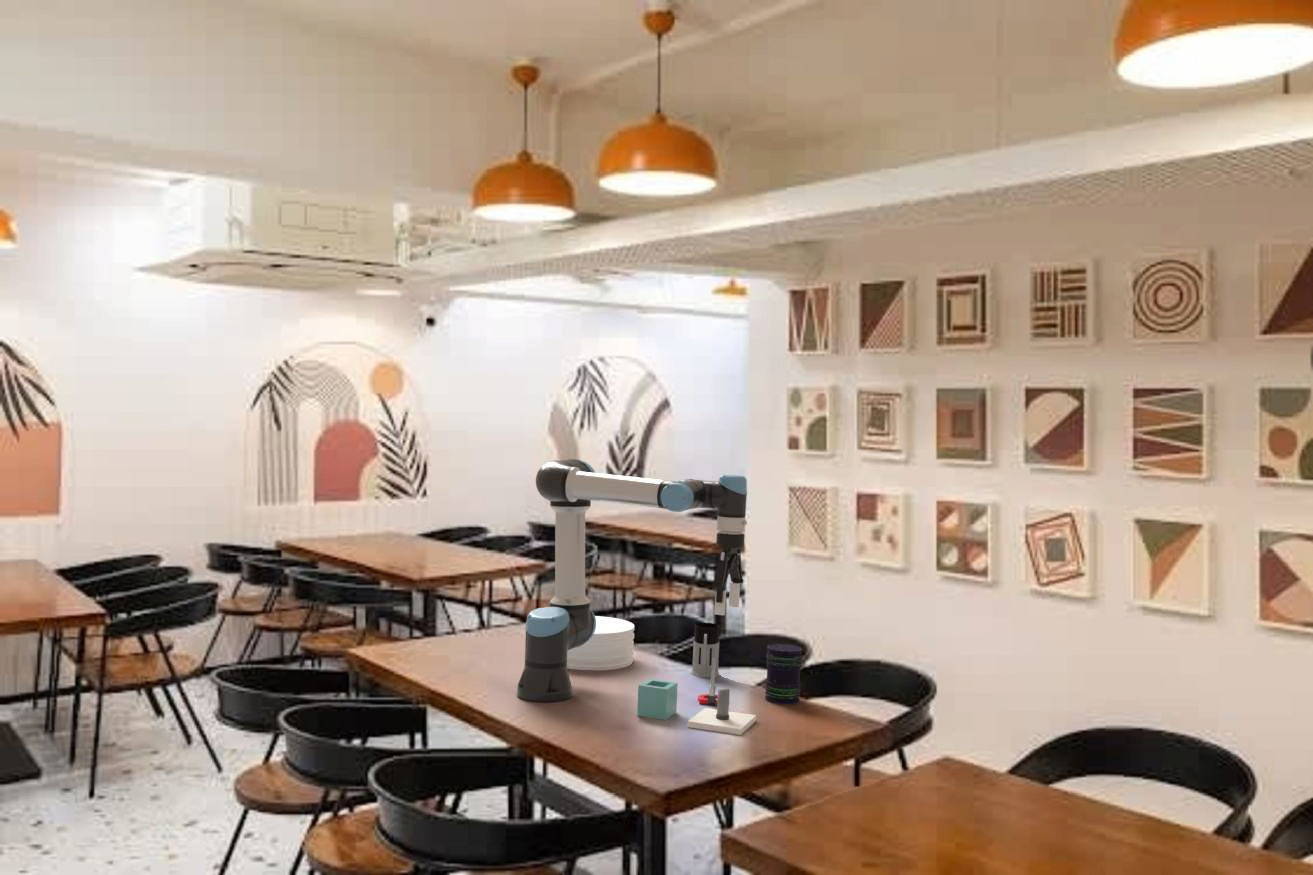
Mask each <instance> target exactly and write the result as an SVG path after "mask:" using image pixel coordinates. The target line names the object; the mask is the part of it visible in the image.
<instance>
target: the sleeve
mask: <svg viewBox="0 0 1313 875" xmlns="http://www.w3.org/2000/svg"><path fill="white" fill-rule="evenodd" d="M678 685H679V684H678V682H675V681H669V680H668V681H667V680H663V679H662V680H660V679H655V678H654V679H653V678H649V679H646V680H645V681H643V682H642V683H640V684H638V688H637V708H636V709H637V713H636V716H637V717H643V718H648V719H649V718H650V719H655V720H656V719H657V720H663V721H667V720H668V719H670V718H671V717H673V716H674V715H675V714H676V713H677V705H678Z"/></svg>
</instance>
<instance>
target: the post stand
mask: <svg viewBox="0 0 1313 875" xmlns="http://www.w3.org/2000/svg"><path fill="white" fill-rule="evenodd" d="M730 691H731V690H730V688H728V687H718V688H717V695H718V699H717V698H716V700H717V705H716V709H715V708H711V707H708V708H707V707H704V708H703V709H702V710H700V711H699V712H698V713H697V714H695V715H694V716H693V717H691V718H690V719H689V720H688V721H687V728H690V729H691V728H692V729H697V730H698V729H699V730H703V731H705V730H706V731H711V732H717V733H723V734H731V735H738V736H741V735H743V734H744V733H745V732H746V731H747V730H748V729H749V728H750V727H751V726H752V725H753V724H754V723H755V722H756V721H757V715H756V714H751V713H750V714H749V713H742V712H736V711H730V710H729V709H730V708H729V707H730Z"/></svg>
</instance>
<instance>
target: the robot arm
mask: <svg viewBox="0 0 1313 875" xmlns="http://www.w3.org/2000/svg"><path fill="white" fill-rule="evenodd" d="M535 486H536V489H537V492H538V493H539V495H540V496H542V497H543V498H544V499H545V500H547V501H549V502H550V504H549V506H550V508H551V509H552V510H553V511H554V513H555V522H554V524H555V526H554V527H555V528H554V529H555V530H554V531H555V532H554V533H555V534H554V535H555V536H554V538H555V540H554V541H555V542H554V543H555V551H554V554H555V555H554V556H555V557H554V561H555V562H554V563H555V564H554V566H555V567H554V570H555V571H554V572H555V573H554V575H555V576H554V578H555V579H554V583H555V584H554V596H553V597H552V598H551V599H550V600H549V606H545V607H538V608H536V609H535V608H534V609H533V610H531V611H529V613H528V614H527V615H526V616H527V617H526V623H525V641H524V642H525V644H524V645H525V646H524V667H523V670H522V673H521V676H520V679H519V681H518V684H517V686H516V687H517V688H516V689H517V690H516V695H517V697H519V698H520V699H523V700H526V701H532V702H538V703H539V702H541V703H542V702H544V703H545V702H546V703H547V702H549V703H550V702H551V703H552V702H560V701H561V702H562V701H565V700H568V699H569V698H570V699H571V698H572V696H573V686H572V682H571V678H570V674H569V672H568V668H567V651H568V650H570V649H573V648H576V647H579V646H581V645H583V644H585V643H586V642H587V641H589V640H590V639H591V637H592V636H593V634H594V632H595V629H596V618H595V616H596V615H595V612H593V611H592V609H591V600H590V599H589V598H588V597H587V595H586V513H587V511H588V510H589V509H590V508H591V506H592V504H591V503H592V502H591V501H594V502H604V503H611V504H612V503H613V504H623V505H630V506H637V507H646V508H656V509H664V510H668V511H669V512H676V513H677V512H678V513H682V512H685V511H687V510H693V509H699V508H700V509H712V510H717V516H716V517H717V521H716V530H717V531H718V532H717V533H716V541H715V542H716V543H715V545H716V546H717V547H719V548H722V550H721V551H722V552H721V551H719V552H718V553H717V563H716V568H715V574H714V579H713V584H712V587H711V588H712V589H711V590H712V591H713V590H714V591H715V593H714V594H715V595H714V597H715V598H714V611H713V612H714V613H713V614H714V615H718V616H725V615H726V602H727V601H726V600H727V590H726V587H727V584H728V583H727V582H728V578H729V577H730V581H731V582H729V594H728V596H729V597H728V607H729V608H730V607H732V608H739V607H740V594H741V593H740V590H741V584H744V579H743V577H744V576H743V568H742V567H743V566H742V556H741V555H742V553H741V552H742V549H741V548H744V547H745V533H744V532H745V527H746V525H747V524H748V522H747V521H746V512H747V495H748V487H747V478H746V477H745V476H743V475H738V474H721V475H720V476H719V478H718V480H717V481H712V480H711V481H710V480H702V479H693V478H689V479H688V478H687V479H683V478H682V479H679V480H678V481H676V480H675V481H674V480H673V481H672V480H664V479H655V478H644V477H635V476H627V475H625V476H624V475H618V474H608V473H599V472H596V471H595V470H594V468H593V467H592V466H591V465H590V464H589V463H588V462H586V461H584V460H582V459H581V460H580V459H573V458H570V459H569V458H568V459H561V460H558V459H557V460H556V459H555V460H549V461H547V462H546V463H544V464H543V465H542V466H540V467H539V469H538V471H537V473H536V477H535Z"/></svg>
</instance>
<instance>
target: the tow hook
mask: <svg viewBox="0 0 1313 875" xmlns="http://www.w3.org/2000/svg"><path fill="white" fill-rule="evenodd" d="M715 671H716V665H715V658H713V661H712V666H711V677H710V684H709V688H708V694H699V695H698V696H697V700H698V701H699V702H698V703H699V704H700V705H701V704H702V705H708V706H717V699H718V694H716V686H715V685H716V677H715Z"/></svg>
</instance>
